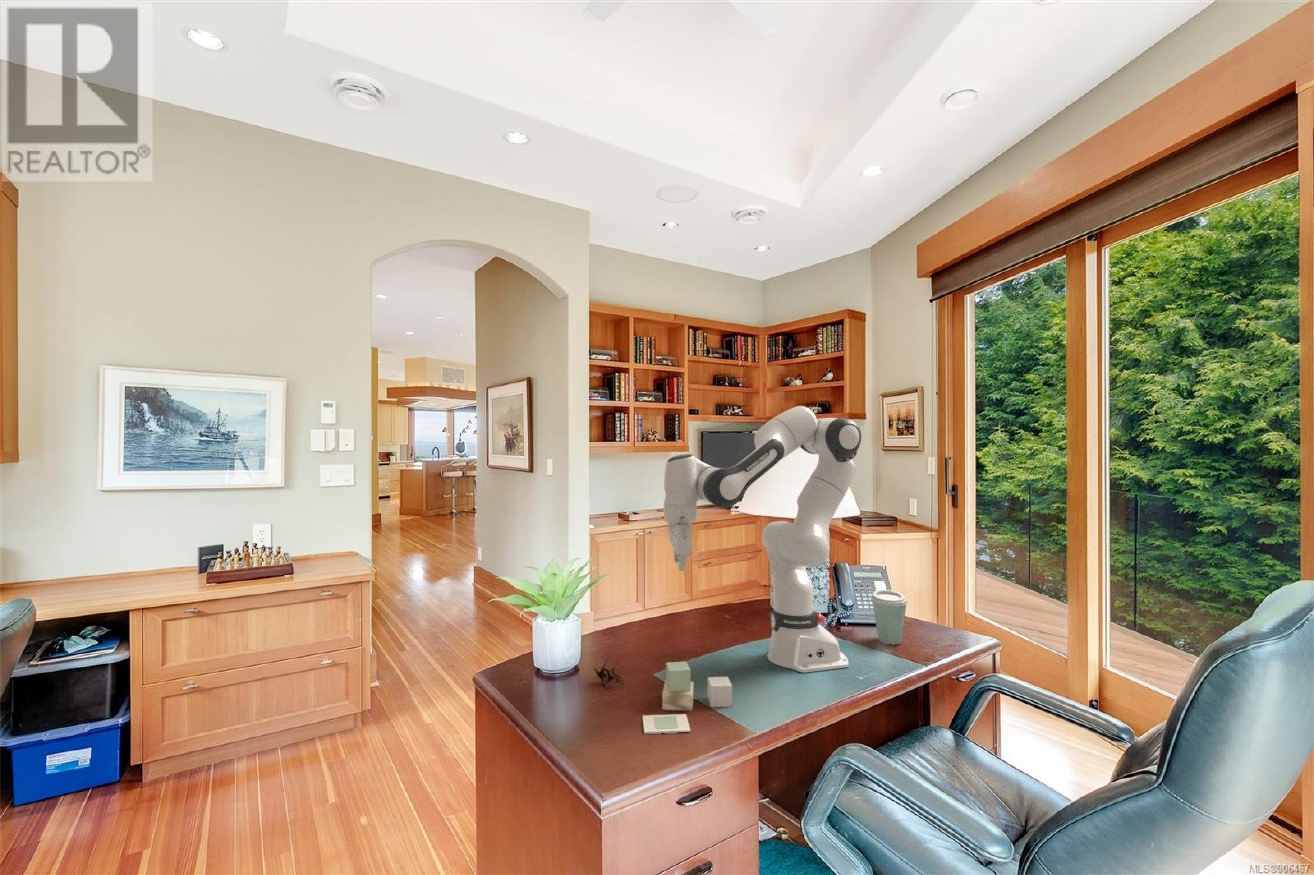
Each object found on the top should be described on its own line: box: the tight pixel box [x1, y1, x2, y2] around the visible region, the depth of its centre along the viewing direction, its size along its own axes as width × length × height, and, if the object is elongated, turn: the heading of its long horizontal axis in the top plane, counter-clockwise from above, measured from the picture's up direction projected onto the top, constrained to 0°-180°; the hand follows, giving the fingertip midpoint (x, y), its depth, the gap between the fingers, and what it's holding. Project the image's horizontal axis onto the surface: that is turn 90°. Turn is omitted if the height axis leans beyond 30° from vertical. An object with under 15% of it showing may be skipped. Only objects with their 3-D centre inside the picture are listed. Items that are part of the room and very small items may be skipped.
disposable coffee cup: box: [870, 589, 908, 646], centre depth 174 cm, size 11×11×15 cm
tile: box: [642, 713, 691, 735], centre depth 122 cm, size 10×7×1 cm
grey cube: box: [707, 676, 733, 708], centre depth 134 cm, size 5×5×5 cm
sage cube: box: [665, 661, 692, 692], centre depth 133 cm, size 5×5×5 cm
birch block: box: [661, 679, 695, 712], centre depth 133 cm, size 7×7×4 cm
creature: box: [593, 660, 625, 692], centre depth 142 cm, size 8×5×8 cm
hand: (679, 566), depth 149 cm, fingers open, 8 cm apart
